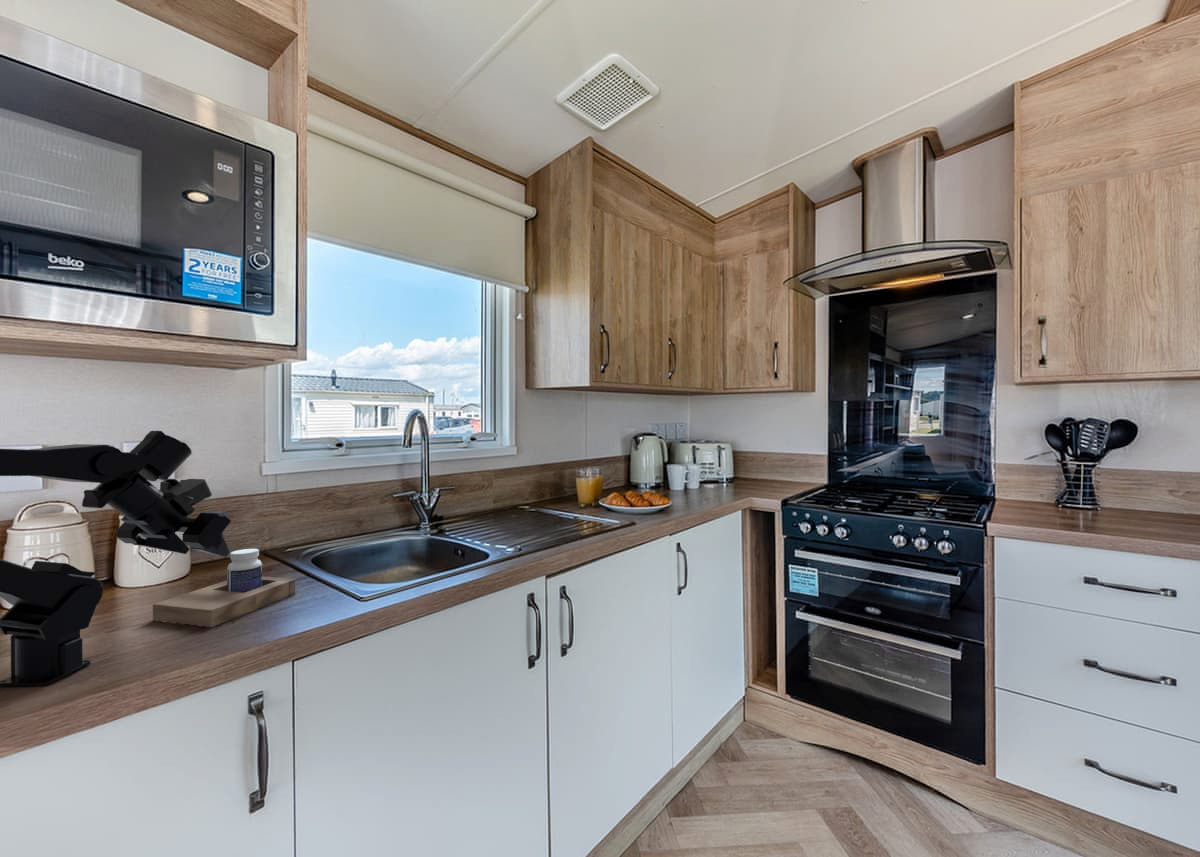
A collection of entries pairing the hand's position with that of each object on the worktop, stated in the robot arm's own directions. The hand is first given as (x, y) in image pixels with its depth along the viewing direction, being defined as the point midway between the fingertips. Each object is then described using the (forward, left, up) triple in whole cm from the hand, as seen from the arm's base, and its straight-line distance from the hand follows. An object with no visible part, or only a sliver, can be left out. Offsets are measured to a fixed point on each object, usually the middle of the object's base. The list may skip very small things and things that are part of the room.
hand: (207, 553), depth 93 cm
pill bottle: (+2, +7, -12) cm, 14 cm away
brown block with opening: (+1, +4, -11) cm, 12 cm away
